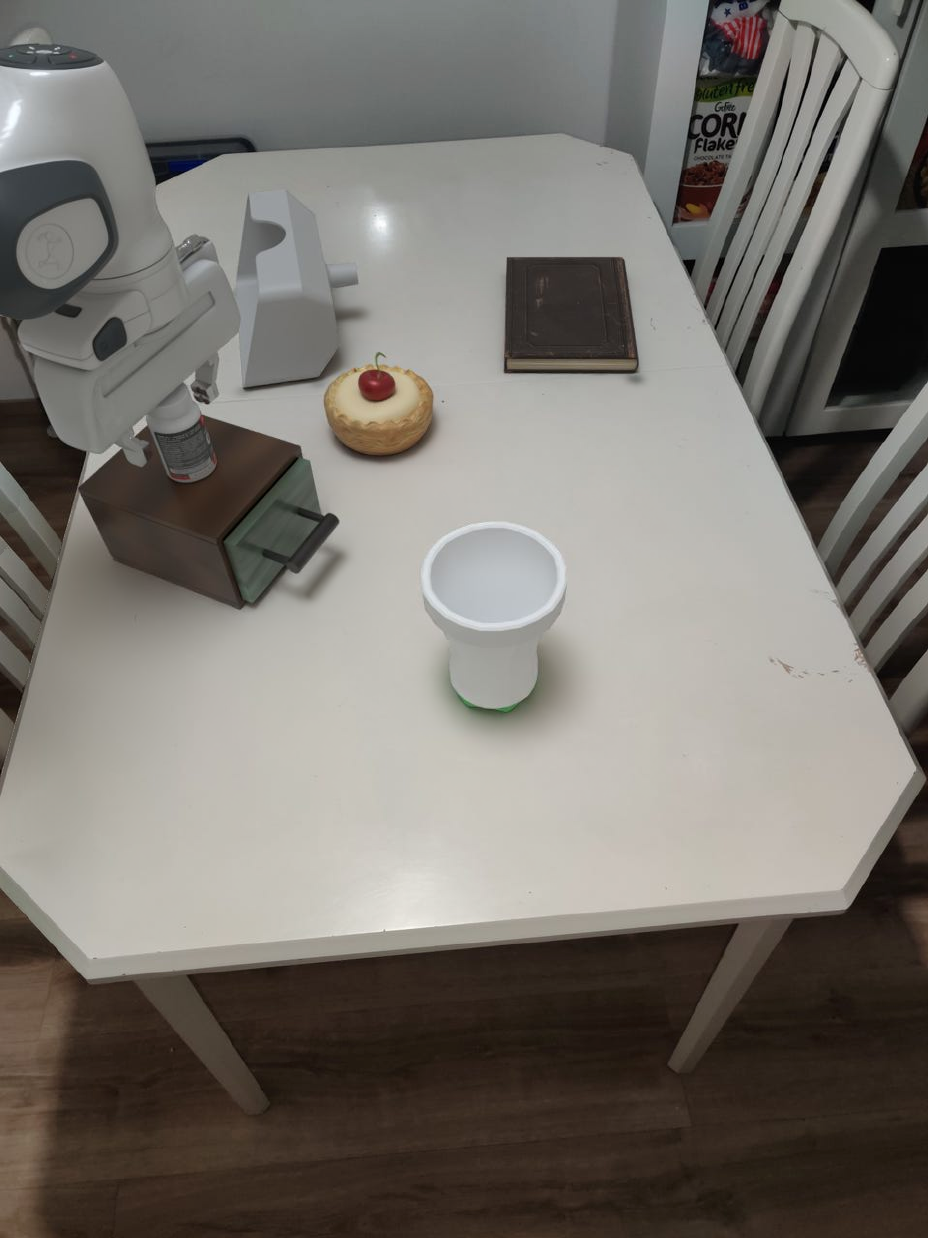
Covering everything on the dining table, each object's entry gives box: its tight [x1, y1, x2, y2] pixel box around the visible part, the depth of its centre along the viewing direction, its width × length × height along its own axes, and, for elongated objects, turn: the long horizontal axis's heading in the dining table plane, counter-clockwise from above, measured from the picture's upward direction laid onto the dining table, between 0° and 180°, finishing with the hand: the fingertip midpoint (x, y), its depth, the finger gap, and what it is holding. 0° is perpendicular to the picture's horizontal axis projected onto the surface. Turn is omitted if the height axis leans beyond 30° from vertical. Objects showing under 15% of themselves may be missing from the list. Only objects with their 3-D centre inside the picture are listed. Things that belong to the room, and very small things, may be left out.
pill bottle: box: [145, 381, 217, 483], centre depth 78 cm, size 5×5×8 cm
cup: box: [419, 521, 568, 713], centre depth 71 cm, size 11×11×14 cm
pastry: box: [323, 351, 434, 456], centre depth 95 cm, size 12×12×9 cm
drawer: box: [222, 457, 340, 604], centre depth 84 cm, size 19×12×8 cm, turn 64°
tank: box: [235, 188, 359, 389], centre depth 107 cm, size 25×16×12 cm, turn 12°
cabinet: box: [77, 414, 304, 610], centre depth 85 cm, size 16×14×10 cm
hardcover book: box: [503, 256, 640, 374], centre depth 111 cm, size 16×23×2 cm
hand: (175, 428), depth 78 cm, fingers open, 8 cm apart
